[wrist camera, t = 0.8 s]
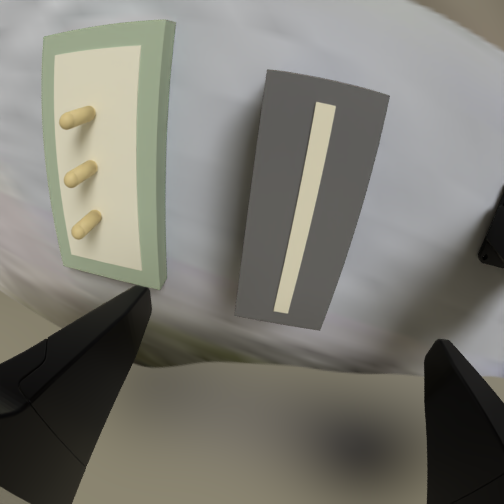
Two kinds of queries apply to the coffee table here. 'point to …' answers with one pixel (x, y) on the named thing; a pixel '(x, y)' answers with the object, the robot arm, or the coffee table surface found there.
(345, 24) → the coffee table surface
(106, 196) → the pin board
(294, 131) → the panel
